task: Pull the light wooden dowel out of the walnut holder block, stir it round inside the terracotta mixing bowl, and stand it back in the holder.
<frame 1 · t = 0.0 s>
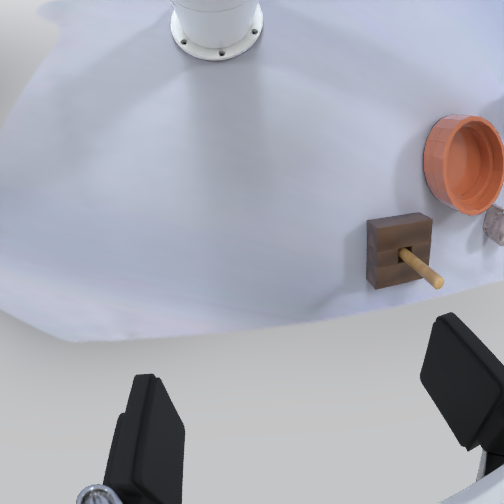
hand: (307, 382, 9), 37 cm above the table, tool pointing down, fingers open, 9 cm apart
rod holder: (393, 245, 49), on the table
mixing bowl: (456, 160, 44), on the table
dental mold: (490, 221, 50), on the table
light wooden dowel: (414, 262, 43), in the rod holder
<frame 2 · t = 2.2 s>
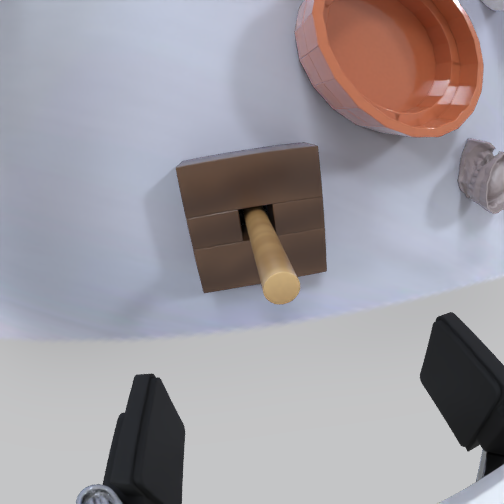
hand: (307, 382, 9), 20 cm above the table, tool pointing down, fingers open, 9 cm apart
rod holder: (252, 209, 27), on the table
mixing bowl: (379, 49, 22), on the table
dental mold: (472, 172, 28), on the table
light wooden dowel: (262, 236, 21), in the rod holder
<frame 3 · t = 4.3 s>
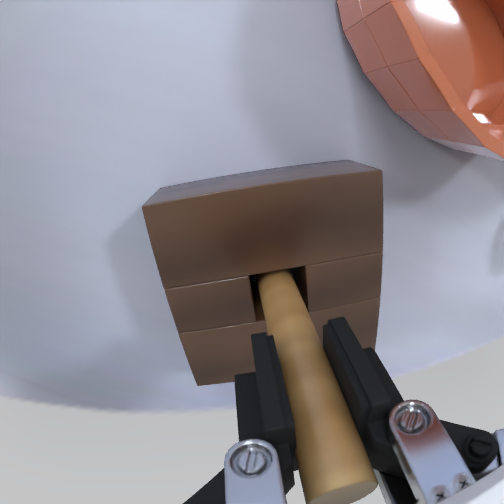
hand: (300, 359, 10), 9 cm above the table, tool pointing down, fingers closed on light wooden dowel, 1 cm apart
rod holder: (268, 260, 18), on the table
mixing bowl: (446, 32, 13), on the table
light wooden dowel: (292, 333, 12), in the rod holder, touching gripper
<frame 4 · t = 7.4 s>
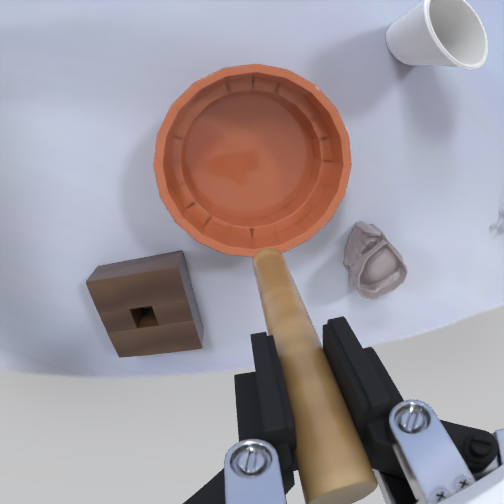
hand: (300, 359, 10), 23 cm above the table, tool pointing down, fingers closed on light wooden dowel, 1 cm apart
rod holder: (150, 298, 35), on the table
mixing bowl: (249, 156, 30), on the table
dental mold: (363, 252, 36), on the table
light wooden dowel: (291, 334, 12), point 22 cm above the table, touching gripper
dixie cup: (405, 43, 26), on the table
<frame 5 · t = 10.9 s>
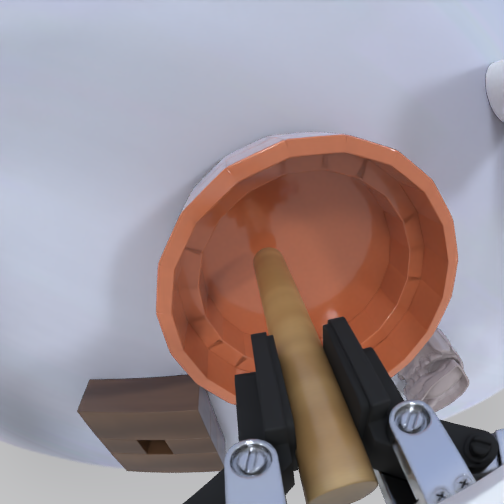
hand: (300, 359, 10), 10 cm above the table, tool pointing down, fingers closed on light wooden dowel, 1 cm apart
rod holder: (160, 414, 26), on the table
mixing bowl: (300, 260, 21), on the table
dental mold: (421, 357, 26), on the table
light wooden dowel: (292, 334, 12), point 9 cm above the table, touching gripper
dixie cup: (503, 92, 17), on the table
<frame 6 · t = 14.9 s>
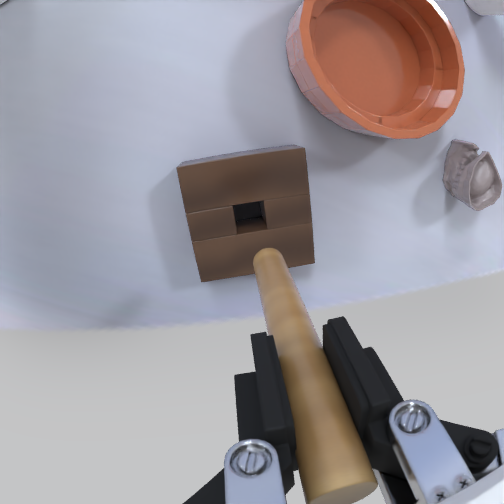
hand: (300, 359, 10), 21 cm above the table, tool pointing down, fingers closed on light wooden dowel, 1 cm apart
rod holder: (246, 205, 30), on the table
mixing bowl: (365, 57, 25), on the table
dental mold: (458, 172, 30), on the table
light wooden dowel: (292, 334, 12), point 20 cm above the table, touching gripper
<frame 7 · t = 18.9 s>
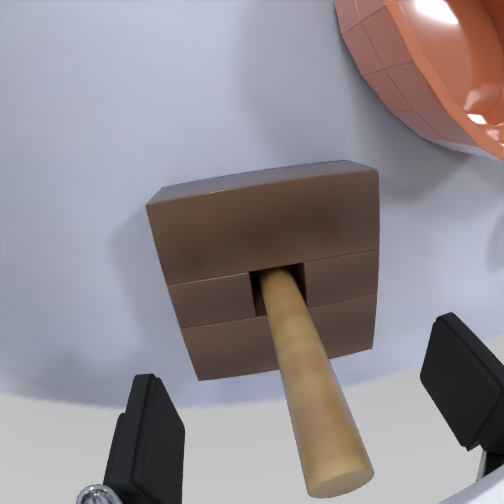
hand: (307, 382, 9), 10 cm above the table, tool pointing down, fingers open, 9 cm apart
rod holder: (268, 258, 19), on the table
mixing bowl: (442, 34, 14), on the table
light wooden dowel: (293, 333, 12), in the rod holder
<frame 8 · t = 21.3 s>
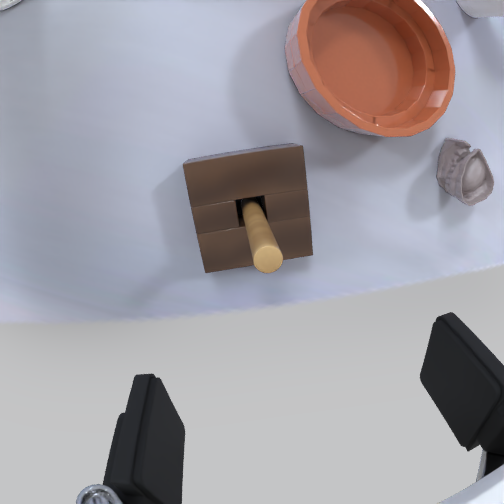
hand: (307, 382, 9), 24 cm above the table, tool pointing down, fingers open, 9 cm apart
rod holder: (248, 201, 32), on the table
mixing bowl: (361, 59, 26), on the table
dental mold: (451, 169, 32), on the table
light wooden dowel: (256, 224, 25), in the rod holder
dixie cup: (467, 0, 22), on the table
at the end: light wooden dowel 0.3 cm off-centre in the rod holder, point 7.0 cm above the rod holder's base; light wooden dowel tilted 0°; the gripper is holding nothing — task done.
